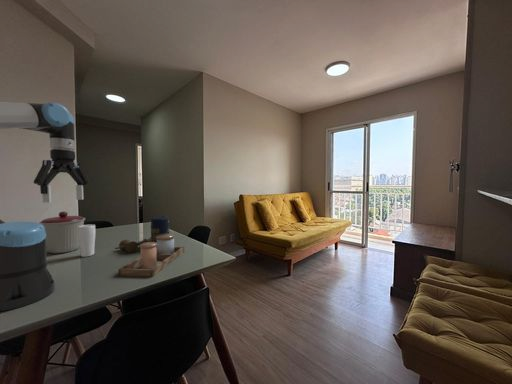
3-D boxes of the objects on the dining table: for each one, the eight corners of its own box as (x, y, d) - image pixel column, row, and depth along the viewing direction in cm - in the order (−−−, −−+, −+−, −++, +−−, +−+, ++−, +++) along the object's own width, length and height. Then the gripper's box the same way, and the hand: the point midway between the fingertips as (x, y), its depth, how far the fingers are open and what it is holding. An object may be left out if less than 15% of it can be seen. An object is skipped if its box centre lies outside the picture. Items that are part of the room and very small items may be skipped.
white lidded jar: (169, 258, 98) (169, 238, 97) (152, 258, 98) (152, 237, 98) (177, 252, 106) (177, 233, 106) (162, 252, 107) (161, 233, 106)
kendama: (157, 247, 117) (118, 256, 101) (149, 244, 123) (110, 252, 107) (157, 236, 117) (118, 244, 101) (149, 234, 123) (110, 241, 107)
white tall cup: (99, 253, 105) (98, 224, 105) (87, 258, 98) (86, 227, 98) (87, 252, 106) (86, 224, 105) (74, 257, 99) (73, 227, 98)
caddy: (152, 276, 79) (152, 270, 79) (118, 275, 80) (118, 269, 80) (184, 251, 108) (184, 247, 108) (158, 251, 109) (158, 246, 109)
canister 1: (76, 243, 122) (75, 208, 121) (93, 248, 114) (92, 210, 113) (33, 253, 105) (31, 212, 104) (49, 258, 97) (47, 215, 96)
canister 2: (152, 245, 119) (152, 214, 118) (170, 243, 122) (169, 213, 121) (149, 250, 110) (149, 217, 109) (168, 248, 113) (168, 216, 112)
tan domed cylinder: (151, 270, 85) (151, 246, 85) (137, 269, 85) (136, 246, 85) (160, 264, 91) (159, 242, 91) (146, 263, 92) (145, 241, 91)
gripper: (36, 144, 72) (39, 203, 73) (96, 154, 97) (98, 198, 98) (17, 144, 73) (20, 203, 73) (82, 154, 97) (83, 198, 98)
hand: (64, 201), depth 86 cm, fingers open, 13 cm apart
